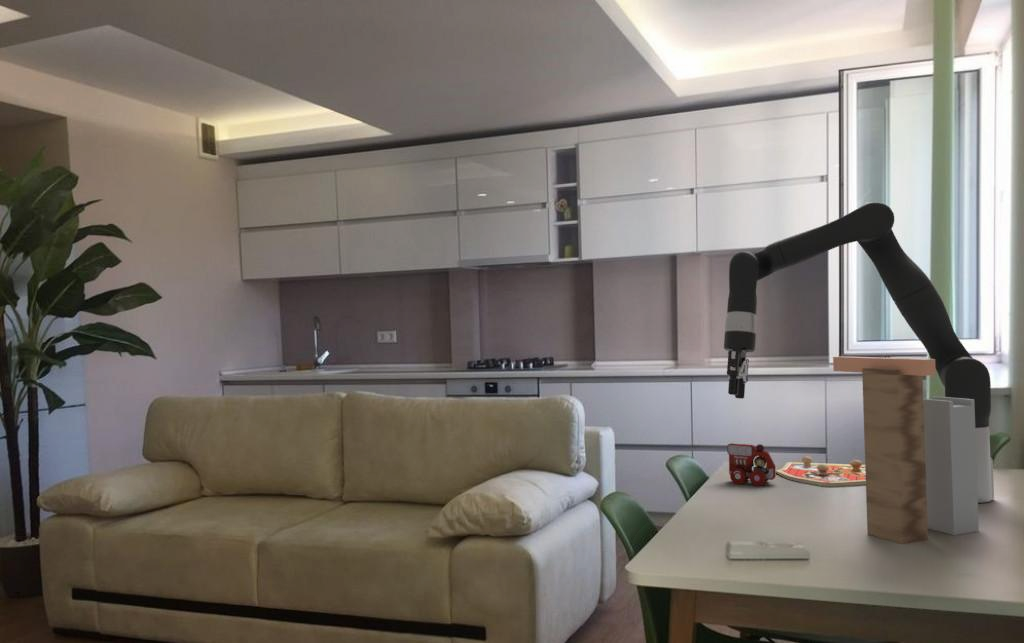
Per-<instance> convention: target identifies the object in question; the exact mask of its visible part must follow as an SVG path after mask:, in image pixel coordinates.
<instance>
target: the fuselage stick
mask: <svg viewBox="0 0 1024 643" xmlns="http://www.w3.org/2000/svg"><path fill="white" fill-rule="evenodd" d="M832 360H833V361H832V362H833V363H832V366H833V367H832V369H833V372H840V373H841V372H843V373H844V372H845V373H861V374H862V368H872V369H893V370H900V375H918V376H923V377H927V376H928V377H929V376H936V375H937V374H936V372H937V370H936V368H935V359H931V358H914V357H912V358H910V357H909V358H908V357H878V356H876V357H874V356H872V357H871V356H848V355H847V356H833V357H832Z"/></svg>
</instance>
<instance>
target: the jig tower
mask: <svg viewBox="0 0 1024 643" xmlns="http://www.w3.org/2000/svg"><path fill="white" fill-rule="evenodd" d="M861 374H862V375H861V376H862V377H861V378H862V403H863V404H862V405H863V410H862V412H863V434H864V435H863V436H864V438H863V439H864V465H865V472H866V485H865V496H866V500H865V501H866V502H865V503H866V525H867V526H866V527H867V528H866V529H867V532H866V533H867V535H870V536H874V537H878V538H881V539H883V540H884V539H885V540H887V541H891V542H894V543H898V544H901V545H902V544H908V543H913V542H918V541H924V540H928V539H929V534H928V533H929V532H928V531H929V529H928V525H927V495H926V465H925V435H924V405H923V399H924V382H923V381H924V379H923V377H924V376H918V375H900V370H893V369H872V368H862V373H861Z"/></svg>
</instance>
